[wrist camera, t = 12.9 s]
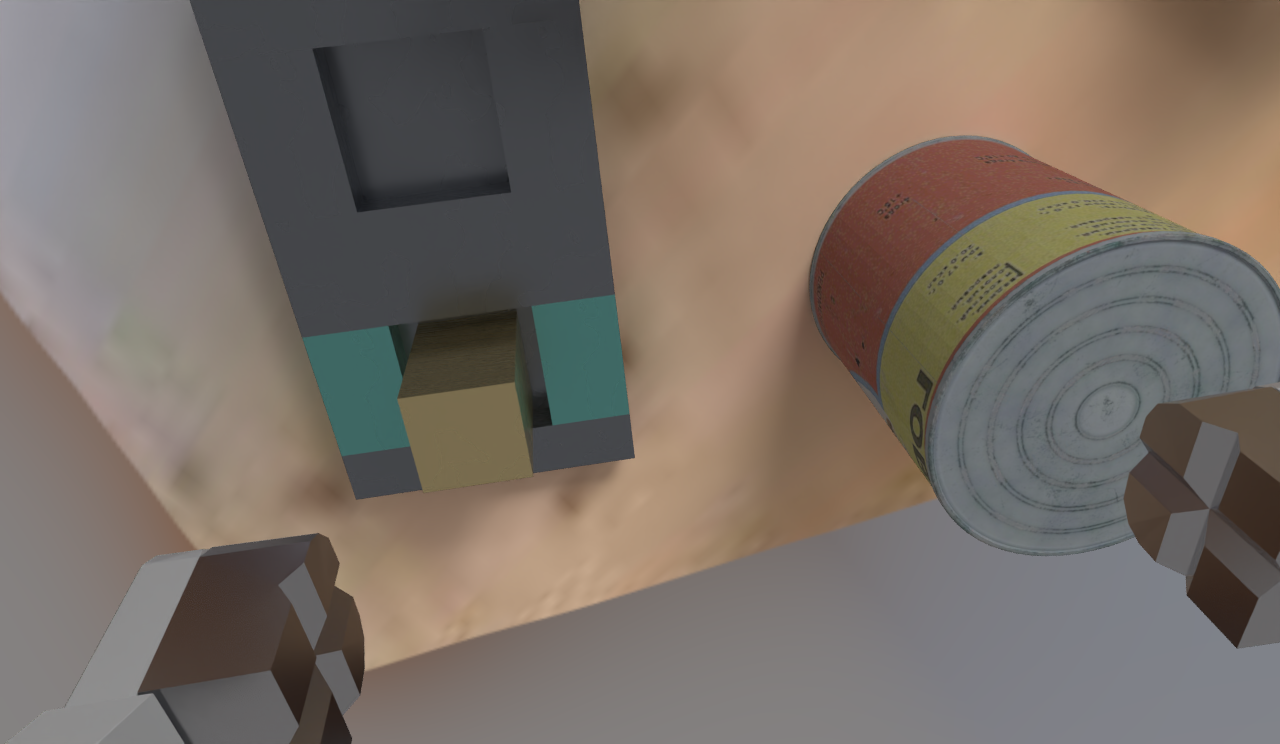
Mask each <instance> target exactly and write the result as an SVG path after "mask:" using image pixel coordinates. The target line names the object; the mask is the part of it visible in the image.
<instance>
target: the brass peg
mask: <svg viewBox="0 0 1280 744" xmlns="http://www.w3.org/2000/svg"><path fill="white" fill-rule="evenodd" d="M397 400H398V404H399V407H400V411H401V414H402V418H403V422H404V425H405V429H406V432H407V436H408V439H409V443H410V447H411V450H412V454H413V457H414V461H415V464H416V468H417V472H418V475H419V479H420V482H421V486H422V489H423V493H427V492H433V491H440V490H447V489H453V488H460V487H467V486H474V485H480V484H487V483H494V482H501V481H507V480H514V479H521V478H527V477H533V395H532V390H531V384H530V379H529V373H528V368H527V363H526V357H525V352H524V347H523V341H522V336H521V330H520V325H519V320H518V314H517V311H511V312H504V313H496V314H489V315H482V316H474V317H467V318H460V319H453V320H445V321H438V322H431V323H423V324H418V326H417V329H416V333H415V337H414V340H413V344H412V347H411V351H410V355H409V358H408V362H407V365H406V369H405V373H404V376H403V380H402V383H401V387H400V391H399V394H398V398H397Z"/></svg>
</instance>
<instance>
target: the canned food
mask: <svg viewBox="0 0 1280 744" xmlns="http://www.w3.org/2000/svg"><path fill="white" fill-rule="evenodd" d="M810 301H811V308H812V312H813V316H814V320H815V322H816V325H817V327H818V330H819V332H820V334H821V335H822V337H823V339H824V341H825V342H826V344H827V345H828V346H829V348H830V349H831V350H832V352H833V353H834V354H835V355H836V356H837V357H838V358H839V359H840V360H841V361H842V362H843V363H844V365H845V366H846V368H847V369H848V370H849V372H850V373H851V375H852V376H853V377H854V379H855V380H856V382H857V383H858V384H859V386H860V387H861V388H862V390H863V391H864V393H865V394H866V395H867V397H868V398H869V400H870V401H871V402H872V404H873V405H874V407H875V408H876V409H877V411H878V412H879V413H880V415H881V416H882V418H883V419H884V420H885V422H886V423H887V425H888V426H889V427H890V429H891V430H892V431H893V433H894V434H895V436H896V437H897V438H898V440H899V441H900V443H901V444H902V445H903V447H904V448H905V450H906V451H907V452H908V454H909V455H910V456H911V458H912V459H913V461H914V462H915V463H916V465H917V466H918V468H919V469H920V470H921V472H922V473H923V475H924V476H925V477H926V479H927V480H928V481H929V483H930V484H931V486H932V487H933V490H934V492H935V494H936V496H937V498H938V500H939V501H940V503H941V505H942V506H943V507H944V509H945V510H946V512H947V513H948V514H949V516H950V517H951V518H952V519H953V520H954V521H955V522H956V523H957V524H958V525H959V526H960V527H961V528H962V529H963V530H965V531H966V532H967V533H968V534H970V535H972V536H973V537H975V538H976V539H978V540H980V541H982V542H984V543H986V544H988V545H990V546H993V547H996V548H998V549H1001V550H1005V551H1009V552H1013V553H1018V554H1025V555H1035V556H1036V555H1037V556H1057V555H1058V556H1060V555H1070V554H1078V553H1083V552H1088V551H1094V550H1097V549H1101V548H1105V547H1109V546H1112V545H1115V544H1118V543H1121V542H1123V541H1126V540H1129V539H1131V538H1133V537H1135V535H1134V533H1133V532H1132V530H1131V528H1130V526H1129V524H1128V519H1127V514H1126V509H1125V504H1124V499H1123V498H1124V493H1125V489H1126V485H1127V480H1128V476H1129V472H1130V471H1131V470H1132V469H1133V468H1134V467H1135V466H1136V465H1137V464H1138V463H1139V462H1140V461H1141V460H1142V459H1143V458H1144V457H1145V456H1146V455H1147V454H1148V453H1149V452H1148V451H1147V449H1146V447H1145V446H1144V444H1143V442H1142V441H1141V439H1140V438H1139V437H1140V434H1141V431H1142V427H1143V424H1144V421H1145V418H1146V416H1147V415H1148V414H1149V413H1150V411H1151V410H1152V409H1153V408H1154V407H1155V406H1156V405H1157V404H1158V403H1164V402H1170V401H1176V400H1182V399H1189V398H1195V397H1201V396H1207V395H1213V394H1220V393H1226V392H1232V391H1238V390H1244V389H1252V388H1254V387H1256V386H1261V385H1267V384H1272V383H1278V382H1280V289H1279V287H1278V285H1277V283H1276V282H1275V281H1274V279H1273V278H1272V276H1271V275H1270V273H1269V272H1268V271H1267V270H1266V269H1265V268H1264V267H1263V266H1262V265H1261V264H1260V263H1259V262H1258V261H1257V260H1255V259H1254V258H1253V257H1251V256H1250V255H1249V254H1247V253H1246V252H1244V251H1242V250H1240V249H1239V248H1237V247H1235V246H1233V245H1231V244H1229V243H1226V242H1224V241H1221V240H1218V239H1216V238H1213V237H1209V236H1205V235H1201V234H1198V233H1196V232H1193V231H1191V230H1189V229H1187V228H1185V227H1183V226H1180V225H1178V224H1176V223H1174V222H1172V221H1169V220H1167V219H1165V218H1163V217H1161V216H1159V215H1156V214H1154V213H1152V212H1150V211H1148V210H1145V209H1143V208H1141V207H1139V206H1137V205H1135V204H1132V203H1130V202H1128V201H1126V200H1124V199H1121V198H1119V197H1117V196H1115V195H1113V194H1111V193H1108V192H1106V191H1104V190H1102V189H1100V188H1098V187H1095V186H1093V185H1091V184H1089V183H1087V182H1084V181H1082V180H1080V179H1078V178H1076V177H1074V176H1071V175H1069V174H1067V173H1065V172H1063V171H1060V170H1058V169H1056V168H1054V167H1052V166H1050V165H1047V164H1045V163H1043V162H1041V161H1039V160H1036V159H1034V158H1032V157H1031V156H1029V155H1028V154H1027V153H1025V152H1024V151H1022V150H1020V149H1018V148H1016V147H1014V146H1012V145H1010V144H1007V143H1005V142H1002V141H999V140H995V139H991V138H987V137H980V136H950V137H944V138H939V139H934V140H930V141H927V142H923V143H920V144H918V145H915V146H912V147H910V148H908V149H905V150H903V151H901V152H899V153H897V154H895V155H894V156H892V157H890V158H889V159H887V160H885V161H884V162H882V163H881V164H879V165H878V166H877V167H875V168H874V169H872V170H871V171H870V172H869V173H868V174H866V175H865V176H864V177H863V178H862V179H861V180H860V181H859V182H858V183H857V184H856V185H855V186H854V187H853V188H852V189H851V190H850V191H849V192H848V193H847V194H846V196H845V197H844V198H843V199H842V200H841V202H840V203H839V204H838V206H837V207H836V209H835V210H834V212H833V213H832V215H831V217H830V218H829V220H828V222H827V223H826V225H825V227H824V229H823V232H822V234H821V236H820V238H819V241H818V244H817V247H816V249H815V253H814V257H813V261H812V266H811V272H810Z"/></svg>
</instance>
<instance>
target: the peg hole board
mask: <svg viewBox="0 0 1280 744" xmlns="http://www.w3.org/2000/svg"><path fill="white" fill-rule="evenodd" d="M190 3H191V6H192V9H193V12H194V15H195V18H196V21H197V24H198V27H199V30H200V33H201V36H202V39H203V42H204V45H205V48H206V51H207V54H208V57H209V60H210V63H211V66H212V69H213V72H214V75H215V78H216V81H217V84H218V87H219V90H220V93H221V96H222V99H223V102H224V105H225V108H226V111H227V114H228V117H229V120H230V123H231V126H232V129H233V132H234V135H235V138H236V141H237V144H238V147H239V150H240V153H241V156H242V159H243V162H244V165H245V168H246V171H247V174H248V177H249V180H250V183H251V186H252V189H253V192H254V195H255V198H256V201H257V204H258V207H259V210H260V213H261V216H262V219H263V222H264V225H265V228H266V230H267V233H268V236H269V239H270V242H271V245H272V248H273V251H274V254H275V257H276V260H277V263H278V266H279V269H280V272H281V275H282V278H283V281H284V284H285V287H286V290H287V293H288V296H289V299H290V302H291V305H292V308H293V311H294V314H295V317H296V320H297V323H298V326H299V329H300V332H301V335H302V338H303V341H304V344H305V347H306V350H307V353H308V356H309V359H310V362H311V365H312V368H313V371H314V374H315V377H316V380H317V383H318V386H319V389H320V392H321V395H322V398H323V401H324V404H325V407H326V410H327V413H328V416H329V419H330V422H331V425H332V428H333V431H334V434H335V437H336V440H337V443H338V446H339V449H340V452H341V455H342V458H343V461H344V464H345V467H346V470H347V473H348V476H349V479H350V482H351V485H352V488H353V491H354V494H355V497H356V500H357V499H364V498H370V497H377V496H384V495H390V494H397V493H404V492H411V491H417V490H423V489H422V486H421V482H420V479H419V475H418V472H417V468H416V464H415V461H414V457H413V454H412V450H411V447H410V443H409V439H408V436H407V432H406V429H405V425H404V422H403V418H402V414H401V411H400V407H399V404H398V400H397V398H398V394H399V391H400V387H401V383H402V380H403V376H404V373H405V369H406V365H407V362H408V358H409V355H410V351H411V347H412V344H413V340H414V337H415V333H416V329H417V326H418V324H423V323H431V322H438V321H445V320H453V319H460V318H467V317H474V316H482V315H489V314H496V313H504V312H511V311H517V314H518V320H519V325H520V330H521V336H522V341H523V347H524V352H525V357H526V363H527V368H528V373H529V379H530V384H531V390H532V395H533V473H537V472H544V471H551V470H557V469H564V468H571V467H577V466H584V465H591V464H597V463H604V462H611V461H617V460H624V459H631V458H635V455H634V447H633V439H632V431H631V423H630V415H629V406H628V398H627V390H626V382H625V374H624V366H623V357H622V349H621V341H620V333H619V325H618V317H617V308H616V300H615V292H614V284H613V276H612V268H611V259H610V251H609V243H608V235H607V227H606V219H605V210H604V202H603V194H602V186H601V178H600V170H599V161H598V153H597V145H596V137H595V129H594V121H593V113H592V104H591V96H590V88H589V80H588V72H587V64H586V55H585V47H584V39H583V31H582V23H581V15H580V6H579V0H190Z"/></svg>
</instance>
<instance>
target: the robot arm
mask: <svg viewBox="0 0 1280 744" xmlns="http://www.w3.org/2000/svg"><path fill="white" fill-rule="evenodd" d="M1139 438H1140V439H1141V441H1142V442H1143V444H1144V446H1145V447H1146V449H1147V451H1148V452H1149V453H1148V454H1147V455H1146V456H1145V457H1144V458H1143V459H1142V460H1141V461H1140V462H1139V463H1138V464H1137V465H1136V466H1135V467H1134V468H1133V469H1132V470H1131V471H1130V472H1129V476H1128V480H1127V485H1126V489H1125V493H1124V498H1123V499H1124V504H1125V509H1126V514H1127V519H1128V524H1129V526H1130V528H1131V530H1132V532H1133V533H1134V535H1135V537H1136V539H1137V541H1138V543H1139V544H1140V545H1141V546H1142V547H1143V548H1144V550H1145V551H1146V552H1147V553H1148V554H1149V555H1150V556H1151V557H1152V558H1153V560H1154V561H1155V562H1157V563H1159V564H1161V565H1163V566H1165V567H1168V568H1170V569H1172V570H1174V571H1176V572H1179V573H1181V574H1183V575H1185V576H1186V591H1187V596H1188V597H1189V598H1190V599H1191V600H1192V601H1193V603H1195V605H1196V606H1197V607H1198V608H1199V609H1200V610H1201V611H1202V612H1203V613H1204V614H1205V615H1206V616H1207V617H1208V618H1209V619H1210V620H1211V622H1212V623H1213V624H1214V625H1215V626H1216V627H1217V628H1218V629H1219V630H1220V631H1221V632H1222V633H1223V634H1224V635H1225V636H1226V638H1227V639H1228V640H1229V641H1230V642H1231V643H1232V644H1233V645H1234V646H1235V647H1236V648H1245V647H1252V646H1259V645H1265V644H1272V643H1279V642H1280V382H1278V383H1272V384H1267V385H1261V386H1256V387H1254V388H1252V389H1244V390H1238V391H1232V392H1226V393H1220V394H1213V395H1207V396H1201V397H1195V398H1189V399H1182V400H1176V401H1170V402H1164V403H1158V404H1157V405H1156V406H1155V407H1154V408H1153V409H1152V410H1151V411H1150V413H1149V414H1148V415H1147V416H1146V418H1145V421H1144V424H1143V427H1142V431H1141V434H1140V437H1139ZM339 564H340V563H339V561H338V558H337V556H336V554H335V552H334V549H333V547H332V545H331V542H330V540H329V538H328V537H326V536H324V535H321V534H319V533H316V534H308V535H301V536H293V537H286V538H278V539H271V540H263V541H256V542H248V543H241V544H233V545H226V546H218V547H212V548H210V549H201V550H194V551H187V552H180V553H172V554H166V555H159V556H155V557H154V558H152V559H151V560H149V561H148V562H146V563H145V564H143V565H142V566H141V568H140V569H139V571H138V573H137V575H136V577H135V578H134V580H133V582H132V584H131V586H130V588H129V589H128V591H127V593H126V595H125V597H124V599H123V600H122V602H121V604H120V606H119V608H118V610H117V612H116V613H115V615H114V617H113V619H112V621H111V623H110V625H109V626H108V628H107V630H106V632H105V634H104V635H103V637H102V639H101V641H100V643H99V645H98V646H97V649H96V650H95V652H94V654H93V656H92V658H91V659H90V661H89V663H88V665H87V667H86V668H85V670H84V672H83V674H82V676H81V678H80V680H79V681H78V683H77V685H76V687H75V689H74V690H73V692H72V694H71V696H70V698H69V700H68V702H67V704H66V705H65V707H64V708H59V709H54V710H48V711H44V712H43V713H42V714H40V715H39V716H38V717H37V718H36V719H34V720H33V721H32V722H31V723H29V724H28V725H27V726H26V727H24V728H23V729H22V730H21V731H19V732H18V733H17V734H16V735H15V736H13V737H12V738H11V739H10V740H8V741H7V742H6V743H5V744H351V742H352V737H351V734H350V732H349V730H348V728H347V725H346V723H345V720H344V718H343V715H344V713H345V712H346V711H347V710H348V709H349V707H351V705H352V704H353V703H354V702H355V701H356V700H357V699H358V697H359V696H360V693H361V687H362V681H363V675H364V669H365V664H364V635H363V630H362V625H361V620H360V615H359V612H358V610H357V607H356V604H355V602H354V599H353V597H352V596H350V595H349V594H347V593H346V592H344V591H342V590H341V589H339V588H337V587H336V586H334V585H335V581H336V577H337V573H338V569H339Z"/></svg>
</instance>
